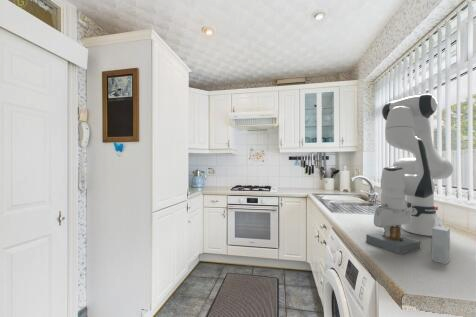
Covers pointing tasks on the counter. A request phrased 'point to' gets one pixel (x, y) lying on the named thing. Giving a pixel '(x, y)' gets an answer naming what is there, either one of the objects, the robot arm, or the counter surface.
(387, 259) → the counter surface
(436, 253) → the skincare box
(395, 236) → the brown wooden block
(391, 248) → the slate socket block
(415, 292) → the counter surface
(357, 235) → the counter surface
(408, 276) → the counter surface
